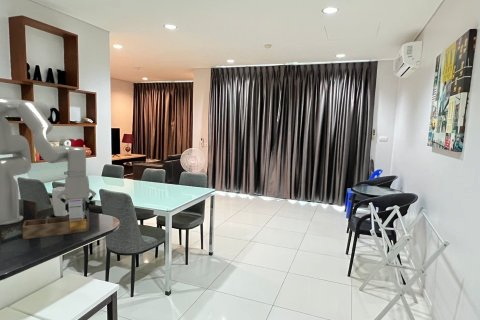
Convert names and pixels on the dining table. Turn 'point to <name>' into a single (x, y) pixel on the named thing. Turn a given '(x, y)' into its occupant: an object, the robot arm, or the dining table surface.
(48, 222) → the rack
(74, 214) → the syrup box
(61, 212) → the cup
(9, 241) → the dining table surface
